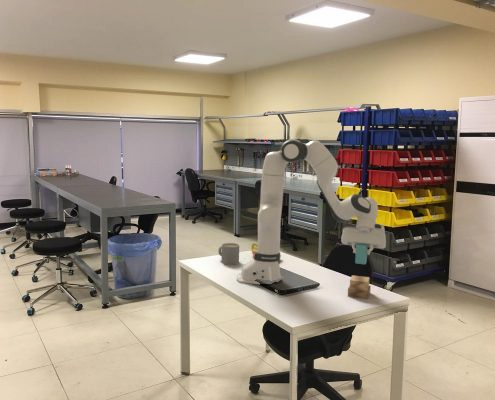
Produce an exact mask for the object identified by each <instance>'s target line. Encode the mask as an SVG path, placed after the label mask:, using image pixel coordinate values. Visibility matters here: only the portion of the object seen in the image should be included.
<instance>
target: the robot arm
mask: <svg viewBox="0 0 495 400" xmlns="http://www.w3.org/2000/svg"><path fill="white" fill-rule="evenodd" d="M302 160H304V161H306V162H307V163H308V164H309V165H310V166H311V168H312V169H313V171H314V173H315V177H316V184H317V186H318V189H319V191H320V192H321V194H322V197H323V198H324V200H325V202H326V204H327V205H328V207H329V210H330V212H331V216H332V217H333V219H334V220H336V221H337V222H339V223H341V224H346V223H347V222H348V221H350V220H352V219H353V218H356V225H355V226H345V227H343V228H342V234H341V237H340V242H341V243H342V245H347V246H351V247H352V250H353V251H352V253H353V254H356V246H357V244H362V245H368V247H367V248H369V249H367V251H366V254H367V256H370V254H371V252H372V251H373V250H374V249H385V248H386V247H387V245H386V244H387V237H386V236H387V235H386V232H385V231H386V230H385V226H384V225H383V224H382V225H381V224H380V223H377V218H378V213H379V212H378V211H379V205H378V203H377V201H376V199H374V198H372V197H369V196H368V197H365V196H363V195H361V194H358V193H354V194H352V195H350V196H348V197H346V198H345V199H343V200H342V201H341V200H339V198H338V196H337V194H336V192H335V191H334V189H333V186H332V182H333V179H334V178H335V177H336V174H337V173H338V170H339V169H338V162H337V160H336V158H335V157H334V156H333V154H332V153H331V152H330V150H329V149H328V148H327V147H326V145H324V144H323V143H322V142H320V140H317V139H315V140H310V141H309V142H307V143H303V142H302V141H300V140H299V139H296V138H289V139H287V140H285V142H283V143H282V145H281V146H280V150H278V151H270V152H268V153H266V155H265V157H264V160H263V166H262V171H261V182H260V200H259V201H260V202H259V203H260V204H259V210H258V211H257V245H258V250H257V251H255V250H254V251H253V254H252V259H251V260H249V261H248V262H246V263H245V264H244V265H243V266H242V268H241V272H240V273H238V274H237V275H236V281H237V282H238V283H240V284H241V283H242V284H243V283H244V284H250V285H251V284H253V285H260V283H259V282H257V281H255V280H256V279H262V280H270V281H273V280H277V279H279V278H281V279H282V276H281V274H282V273H281V267H280V266H281V265H280V264H281V256H282V255H281V252H280V250H281V223H282V221H281V220H282V210H283V200H284V199H283V197H284V187H285V178H286V177H285V175H286V167H287V165H288V164H289V163H291V164H293V163H297V162H300V161H302Z"/></svg>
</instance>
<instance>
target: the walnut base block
mask: <svg viewBox="0 0 495 400" xmlns="http://www.w3.org/2000/svg"><path fill="white" fill-rule="evenodd" d="M371 287H372V286H371V285H370V284H369V288H368V291H364V290H356V289H350V285H349V286H348V287H347V297H351V298H358V299H363V298H364V299H365V300H369V298H370V294H371Z"/></svg>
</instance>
